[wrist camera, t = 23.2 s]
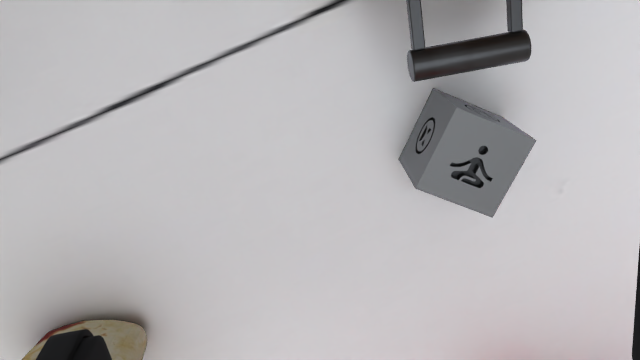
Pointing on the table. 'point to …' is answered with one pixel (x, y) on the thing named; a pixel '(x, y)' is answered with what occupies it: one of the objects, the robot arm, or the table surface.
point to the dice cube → (464, 153)
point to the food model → (105, 338)
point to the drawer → (466, 47)
